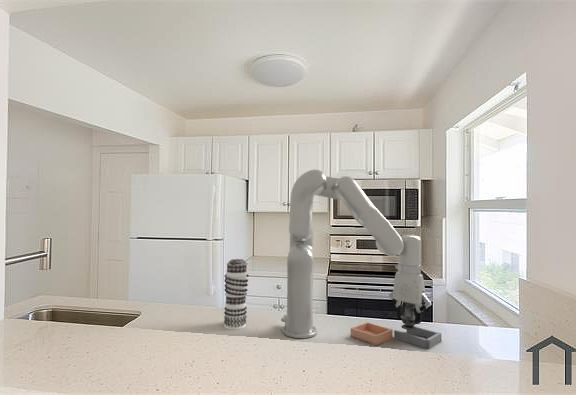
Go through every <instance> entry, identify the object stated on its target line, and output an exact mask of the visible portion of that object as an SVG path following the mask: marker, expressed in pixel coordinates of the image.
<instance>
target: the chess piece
mask: <svg viewBox="0 0 576 395" xmlns="http://www.w3.org/2000/svg"><path fill="white" fill-rule="evenodd" d="M403 308H404V313H403V315H401V316H400V317H401V319H400V320H401V322H402V323H403V324H402V325H401V326H400V327H401V329H404V330H406V331H407V330H412V331H413V330H417V328H416V327H417V326H416V325H417V324H416V323H415V312H414V311H415V310H414V309H416V307H415V304H411V303H406V302H404V305H403ZM415 326H416V327H415Z"/></svg>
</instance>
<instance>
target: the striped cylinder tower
mask: <svg viewBox="0 0 576 395" xmlns="http://www.w3.org/2000/svg"><path fill="white" fill-rule="evenodd" d="M247 265H248V263H247V261H246V260H244V259H243V258H241V259H239V258H235V259H234V258H233V259H230V260H229V261H228V262H227V263H226V273H225V274H224V278H225V279H224V283H225V284H224V292H225V293H224V295H225V302H224V303H225V305H224V306H225V307H224V310H225V311H224V313H223V314H224V316H223V319H224V320H223V323H224V325H223V327H224V328H225V329H227V330H235V331H236V330H240V329H241V330H242V329H244V328H246V327H245V326H247V315H246V314H247V308H248V307H247V302H246V299H247V298H246V296H247V295H248V292H247V291H248V288H247V287H248V286H249V284H248V282H249V279H247V278H248V277H249V274H248V271H247V270H248V269H247V268H248V267H247Z"/></svg>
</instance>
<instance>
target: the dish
mask: <svg viewBox="0 0 576 395" xmlns="http://www.w3.org/2000/svg"><path fill="white" fill-rule="evenodd" d="M393 337H394V330H393V329H392V328H388V327H385V326H383V325H378V324H377V323H376V324H375V323H373V322H369V321H365V322H364V323H363V322H362V323H360V324H358V325H355V326H353V327H350V338H353V339H356V340H359V341H362V342H364V343H367V344H370V345H373V346H375V347H378V346H379V345H382V344H383V343H386V342H388V341H389V340H392V339H393Z"/></svg>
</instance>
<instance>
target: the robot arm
mask: <svg viewBox="0 0 576 395" xmlns="http://www.w3.org/2000/svg"><path fill="white" fill-rule="evenodd" d="M290 192H291V193H290V201H289V202H290V204H289V223H288V232H289V251H288V254H287V258H286V268H287V269H286V270H287V271H286V273H287V275H286V276H287V277H286V278H287V279H286V282H287V283H286V295H287V296H286V300H287V301H286V314H284V315H283V317H281V318H280V321H281V322H283V323H284V325H283V327H282V331H281V332H282V334H283V335H285V336H287V337H289V338H295V339H307V338H312V337H314V336H316V335H317V333H318V332H317V331H318V330H317V328H316V326H313V322H314V320H313V318H314V316H313V315H314V314H313V313H314V308H313V307H314V265H315V264H314V261H315V258H314V223H313V208H314V207H313V206H314V197H315V196H317V197H324V198H328V199H333V200H340V201H341V203H342V205H344V206H345V207H346V209H347V210H348V212H349V213H350V214H351V216H352V217H353V219H354V220H355V221H356V222H357V223H358V224H359V225H361V226H362V227H363V228H364V229H366V230H367V232H368V233H369V234H370V235H371V236H372V237H373V239H374V240H375V246H376V248H377V250H378V251H379V252H380V253H382V254H383V255H387V256H389V257H398V263H397V264H395V266H394V267H395V269H397V271H396V272H395V275H394V283H393V290H392V291H391V292H390V293H389V294H388V297H389V298H390V299H391V300H392V302H393V304H394V305H395V308H396V316H397V320H401V317H400V316H401V315H404V313H405V307H404V306H403V303H405V302H406V303H411V304H414V307H415V310H416V311H415V312H414V316H415V323H416V324H415V325H419V324H421V323H422V321H423V312H424V311H425V310H426V309H428V308H429V307H430V306H432V304H433V303H432V302H431V300H430V299H429V298H428V296H426V289H425V288H426V287H425V281H424V276H423V274H422V267H421V266H422V240H421V237H420V236H418V235H410V234H407V235H406V234H403V235H400V234H399V233H398V232H397V230H396V229H395V228H394V226H393V225H392V224H391V223H390V221H388V219H386V217H385V216H384V215H383V214H382V213H381V212H380V211H379V209H378V208H376V206H375V205H374V204H373V203H372V201H371V200H370V199H369V197H368V196H367V195H366V193H365V192H364V190H362V188H361V187H360V185H359V184H358V183H357V182H356V180H355V179H354V178H353V177H351V176H349V175H345V176H341V177H339V178H337V177H332V176H326V174H325V173H324V172H323V171H322V170H319V169H311V170H308V171H306V172H304V173H302V174H301V175H300V176H299V177H297V179H296V180H295V182H294V184H293V186H292V189H291V191H290ZM422 303H424V304H422Z"/></svg>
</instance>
